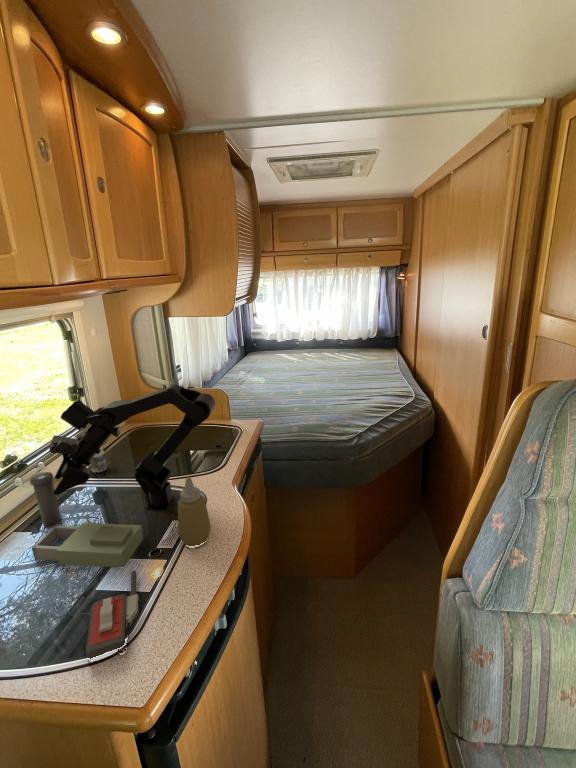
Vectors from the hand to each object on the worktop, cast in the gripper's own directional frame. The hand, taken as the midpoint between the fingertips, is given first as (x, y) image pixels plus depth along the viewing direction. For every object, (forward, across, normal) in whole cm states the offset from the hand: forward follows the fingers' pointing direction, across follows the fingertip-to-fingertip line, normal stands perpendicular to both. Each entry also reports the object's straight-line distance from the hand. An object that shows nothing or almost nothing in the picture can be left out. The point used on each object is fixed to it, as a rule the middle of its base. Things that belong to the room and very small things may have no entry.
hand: (55, 486), depth 104 cm
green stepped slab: (+3, +18, +12) cm, 22 cm away
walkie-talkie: (+1, +42, +15) cm, 44 cm away
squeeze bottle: (-14, +29, +28) cm, 43 cm away
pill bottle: (0, -25, +15) cm, 29 cm away
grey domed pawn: (+9, 0, +5) cm, 11 cm away
